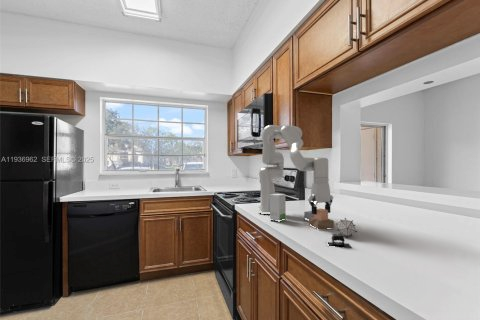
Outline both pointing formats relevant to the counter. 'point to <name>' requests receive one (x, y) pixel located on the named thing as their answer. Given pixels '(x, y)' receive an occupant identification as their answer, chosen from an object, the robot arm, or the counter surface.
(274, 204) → the skincare box
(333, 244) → the black bracket block
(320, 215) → the terracotta cube
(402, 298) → the counter surface
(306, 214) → the slate grey cube
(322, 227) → the walnut block
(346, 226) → the grey spiked ball
